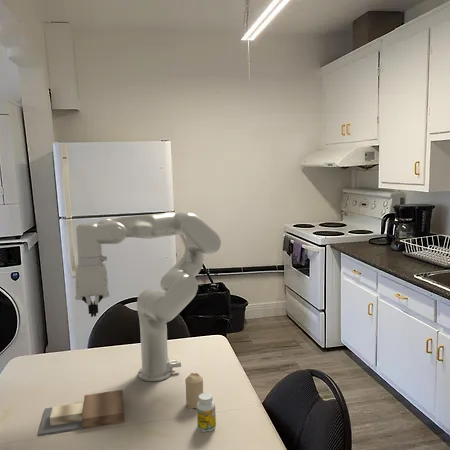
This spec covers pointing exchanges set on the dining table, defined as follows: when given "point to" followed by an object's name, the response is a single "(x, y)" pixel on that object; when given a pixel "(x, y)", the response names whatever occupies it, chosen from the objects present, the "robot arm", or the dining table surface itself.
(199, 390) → the candle
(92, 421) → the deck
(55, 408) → the tile
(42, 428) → the mat
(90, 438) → the dining table surface
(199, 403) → the supplement bottle
